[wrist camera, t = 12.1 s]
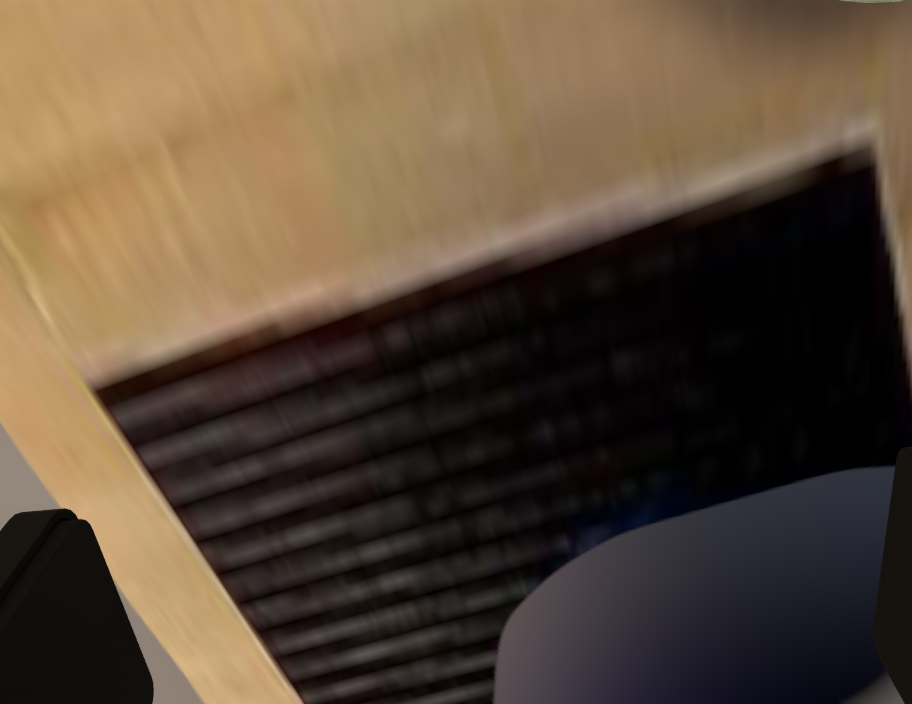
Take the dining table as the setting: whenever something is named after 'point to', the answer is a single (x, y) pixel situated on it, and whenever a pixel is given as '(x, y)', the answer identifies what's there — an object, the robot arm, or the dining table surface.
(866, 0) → the lid
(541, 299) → the dining table surface
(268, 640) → the dining table surface
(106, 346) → the dining table surface
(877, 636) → the robot arm
